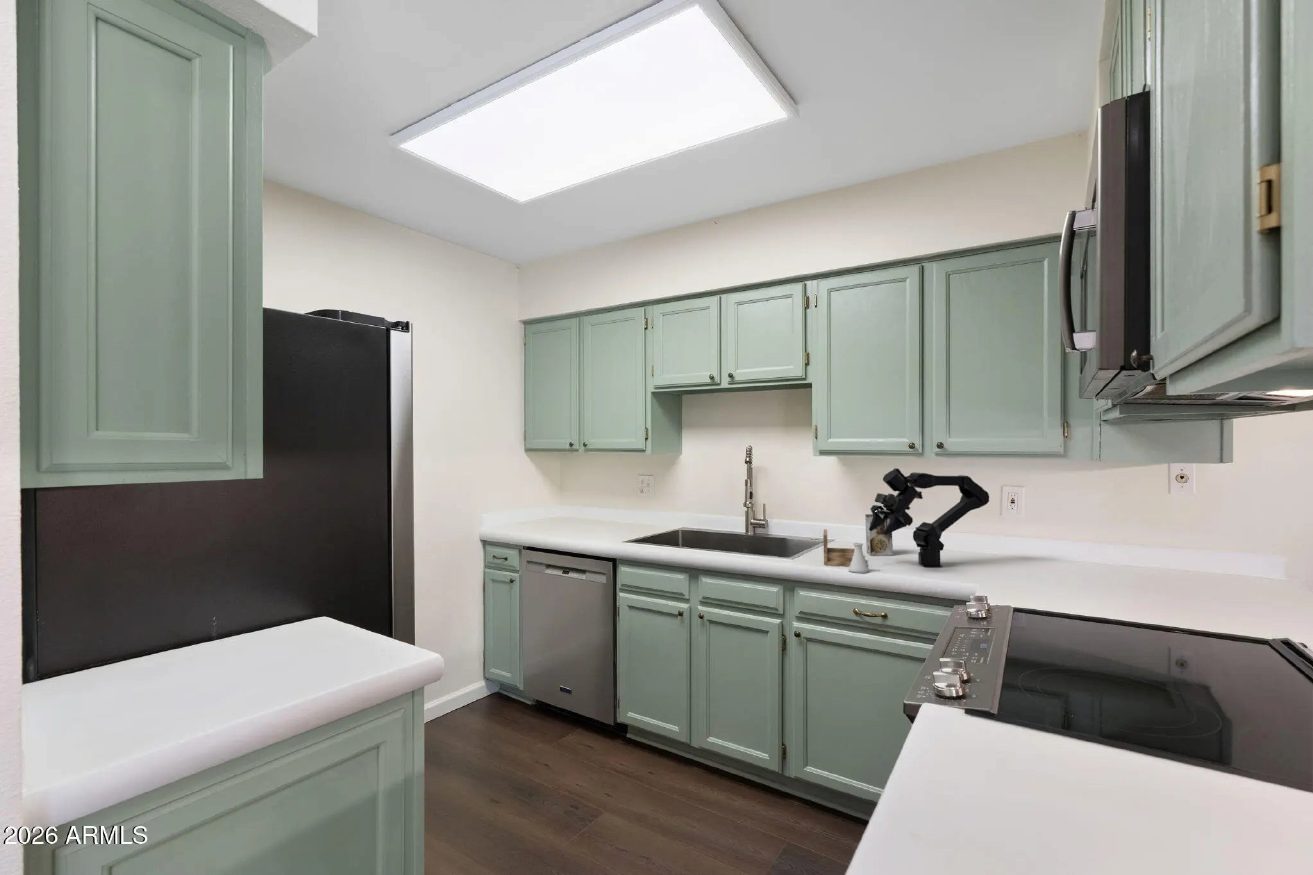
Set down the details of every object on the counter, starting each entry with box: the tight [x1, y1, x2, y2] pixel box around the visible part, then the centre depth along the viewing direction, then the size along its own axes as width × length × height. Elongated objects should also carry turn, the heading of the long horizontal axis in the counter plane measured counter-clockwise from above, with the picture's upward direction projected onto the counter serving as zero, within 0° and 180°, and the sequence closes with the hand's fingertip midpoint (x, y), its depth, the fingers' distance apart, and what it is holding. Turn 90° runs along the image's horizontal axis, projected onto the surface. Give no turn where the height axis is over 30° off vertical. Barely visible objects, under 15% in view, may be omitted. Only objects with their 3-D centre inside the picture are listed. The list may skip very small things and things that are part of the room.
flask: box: [848, 542, 870, 574], centre depth 214 cm, size 7×7×10 cm
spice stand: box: [822, 529, 867, 568], centre depth 229 cm, size 15×14×12 cm
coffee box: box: [865, 513, 894, 557], centre depth 243 cm, size 9×6×16 cm
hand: (876, 532), depth 216 cm, fingers open, 9 cm apart
